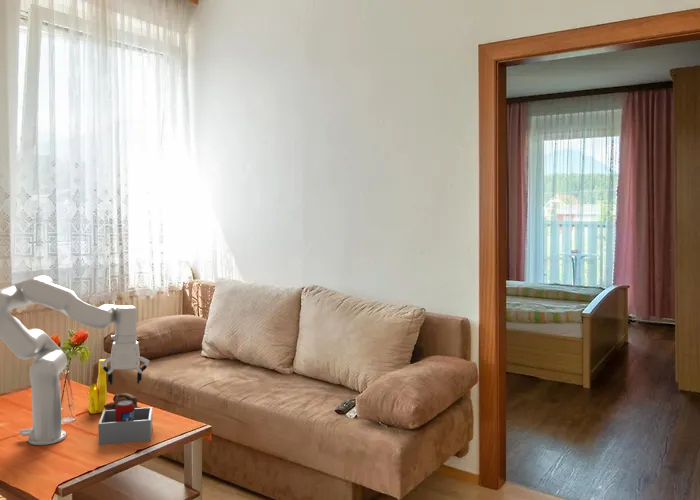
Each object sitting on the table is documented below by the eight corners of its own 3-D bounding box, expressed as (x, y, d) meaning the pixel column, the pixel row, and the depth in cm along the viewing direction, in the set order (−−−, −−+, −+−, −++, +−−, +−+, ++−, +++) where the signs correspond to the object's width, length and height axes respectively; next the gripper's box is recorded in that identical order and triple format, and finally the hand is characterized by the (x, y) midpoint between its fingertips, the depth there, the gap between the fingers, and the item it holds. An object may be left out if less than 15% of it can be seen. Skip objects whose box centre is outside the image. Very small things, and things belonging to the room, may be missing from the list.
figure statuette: (84, 406, 253) (83, 356, 251) (103, 403, 257) (103, 354, 256) (91, 420, 238) (90, 367, 236) (111, 416, 243) (111, 364, 241)
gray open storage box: (98, 445, 215) (98, 423, 214) (103, 430, 228) (103, 410, 227) (150, 440, 220) (150, 420, 219) (152, 426, 233) (152, 407, 232)
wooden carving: (101, 418, 240) (101, 394, 239) (107, 414, 245) (107, 391, 244) (138, 422, 238) (138, 397, 237) (144, 417, 242) (144, 394, 241)
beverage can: (128, 437, 220) (128, 406, 219) (111, 435, 221) (111, 404, 220) (138, 430, 226) (137, 400, 225) (122, 428, 228) (121, 398, 227)
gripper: (99, 341, 215) (99, 387, 216) (149, 340, 219) (148, 385, 221) (102, 336, 222) (101, 380, 223) (150, 335, 227) (149, 379, 228)
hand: (125, 383), depth 222 cm, fingers open, 9 cm apart
